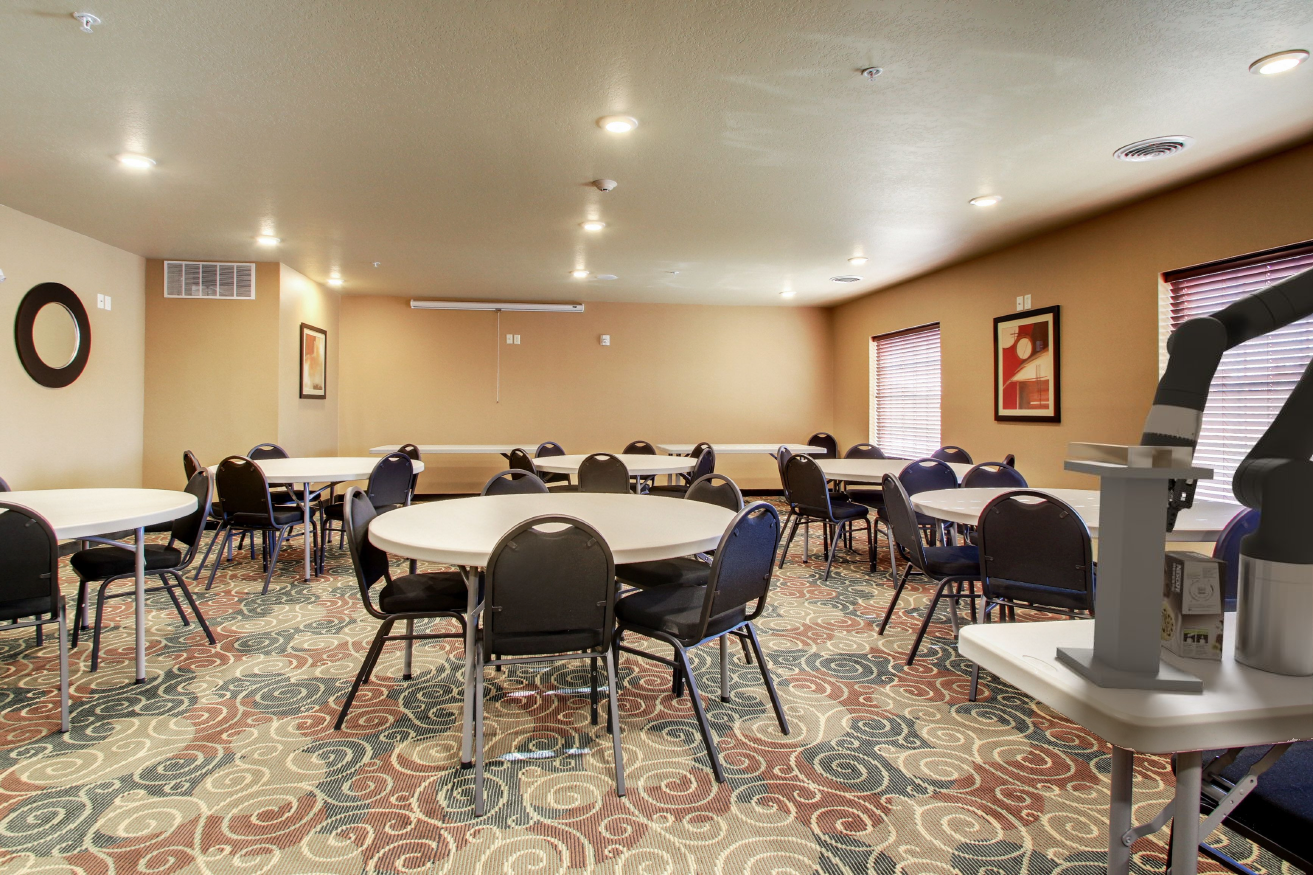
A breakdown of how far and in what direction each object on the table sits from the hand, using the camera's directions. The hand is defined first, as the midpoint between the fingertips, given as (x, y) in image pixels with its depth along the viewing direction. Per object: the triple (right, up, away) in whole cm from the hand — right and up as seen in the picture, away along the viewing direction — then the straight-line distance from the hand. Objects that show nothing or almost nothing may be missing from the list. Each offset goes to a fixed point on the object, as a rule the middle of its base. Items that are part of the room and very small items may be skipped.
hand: (1145, 526), depth 113 cm
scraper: (-12, +12, -9) cm, 19 cm away
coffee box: (+5, -21, -2) cm, 22 cm away
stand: (-12, -21, -12) cm, 27 cm away
